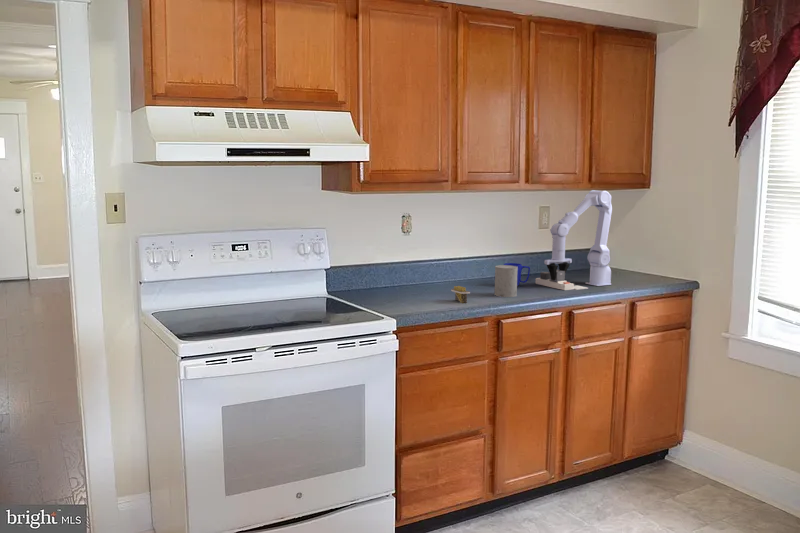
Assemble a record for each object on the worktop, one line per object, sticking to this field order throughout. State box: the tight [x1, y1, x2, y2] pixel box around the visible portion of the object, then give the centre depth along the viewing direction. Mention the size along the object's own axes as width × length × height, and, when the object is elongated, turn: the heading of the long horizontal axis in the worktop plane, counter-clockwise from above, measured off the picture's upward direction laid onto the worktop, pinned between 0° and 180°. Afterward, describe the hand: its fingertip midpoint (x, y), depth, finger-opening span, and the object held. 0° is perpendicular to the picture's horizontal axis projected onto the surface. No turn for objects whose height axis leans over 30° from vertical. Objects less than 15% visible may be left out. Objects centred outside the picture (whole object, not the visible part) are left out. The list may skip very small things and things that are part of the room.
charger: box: [550, 269, 566, 283], centre depth 311 cm, size 4×5×5 cm
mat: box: [573, 285, 589, 291], centre depth 310 cm, size 7×7×1 cm
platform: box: [450, 285, 471, 304], centre depth 275 cm, size 12×18×7 cm, turn 30°
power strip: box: [535, 271, 575, 291], centre depth 314 cm, size 6×20×6 cm, turn 29°
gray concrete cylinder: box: [494, 264, 518, 298], centre depth 290 cm, size 10×10×12 cm
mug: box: [503, 262, 531, 287], centre depth 314 cm, size 8×12×10 cm
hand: (557, 279), depth 312 cm, fingers closed on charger, 4 cm apart
